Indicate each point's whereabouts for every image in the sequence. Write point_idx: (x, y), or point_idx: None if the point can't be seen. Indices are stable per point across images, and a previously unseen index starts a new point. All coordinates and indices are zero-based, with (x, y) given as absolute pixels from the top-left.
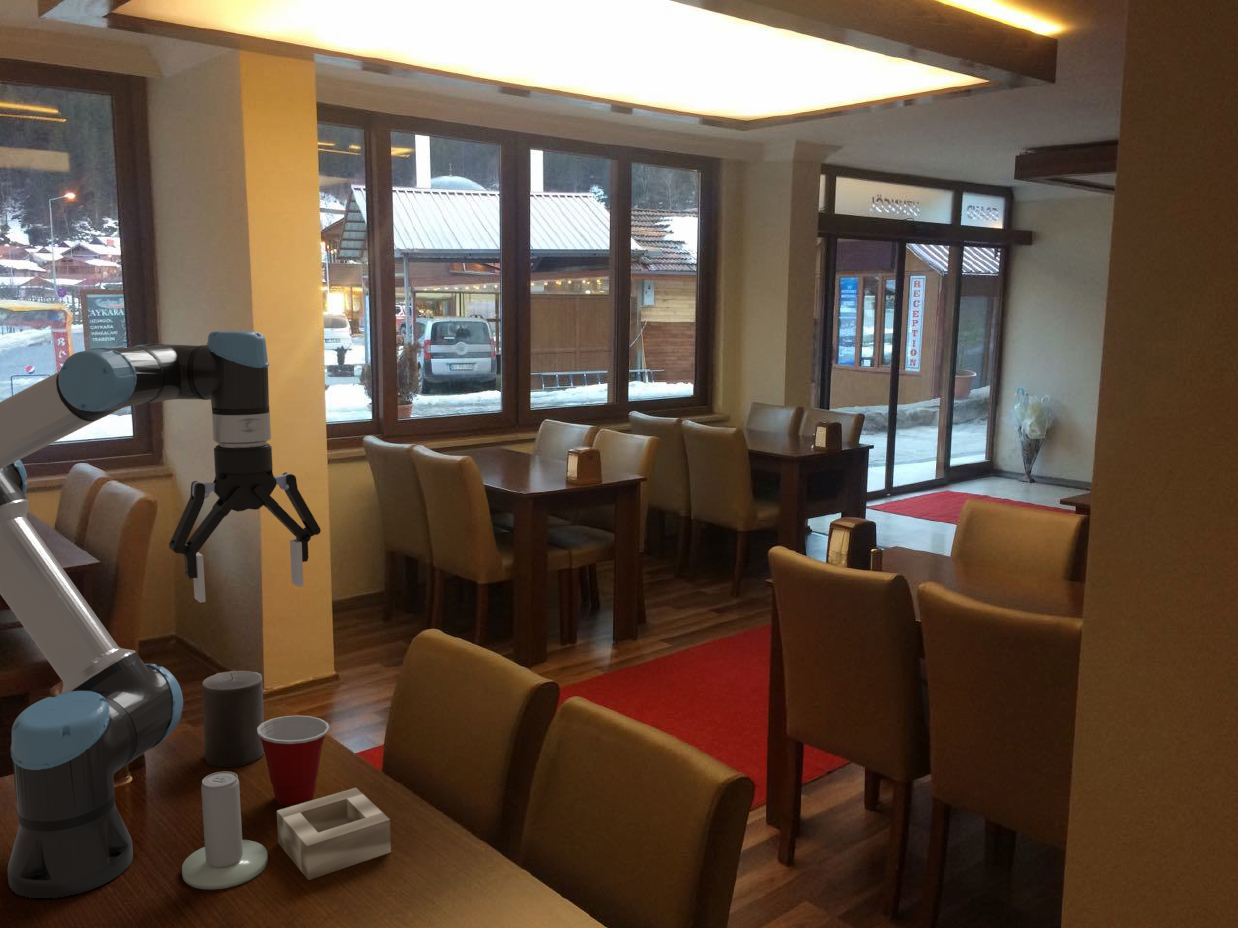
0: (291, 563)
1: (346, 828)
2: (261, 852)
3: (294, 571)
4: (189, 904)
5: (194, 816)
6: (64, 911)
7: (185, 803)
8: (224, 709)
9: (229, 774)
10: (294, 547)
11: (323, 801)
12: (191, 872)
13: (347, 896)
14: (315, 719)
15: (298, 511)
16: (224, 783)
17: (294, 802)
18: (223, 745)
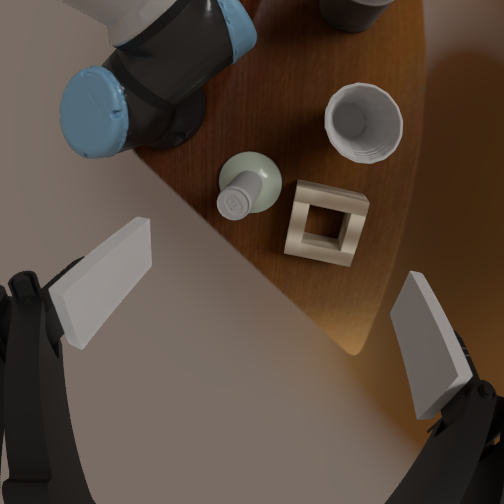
0: (426, 314)
1: (319, 253)
2: (275, 193)
3: (409, 319)
4: (213, 208)
5: (266, 86)
6: (152, 160)
7: (270, 59)
8: (337, 3)
9: (245, 200)
10: (424, 389)
11: (335, 202)
12: (224, 181)
13: (292, 273)
14: (398, 116)
15: (476, 498)
16: (233, 215)
17: (341, 134)
18: (330, 15)
